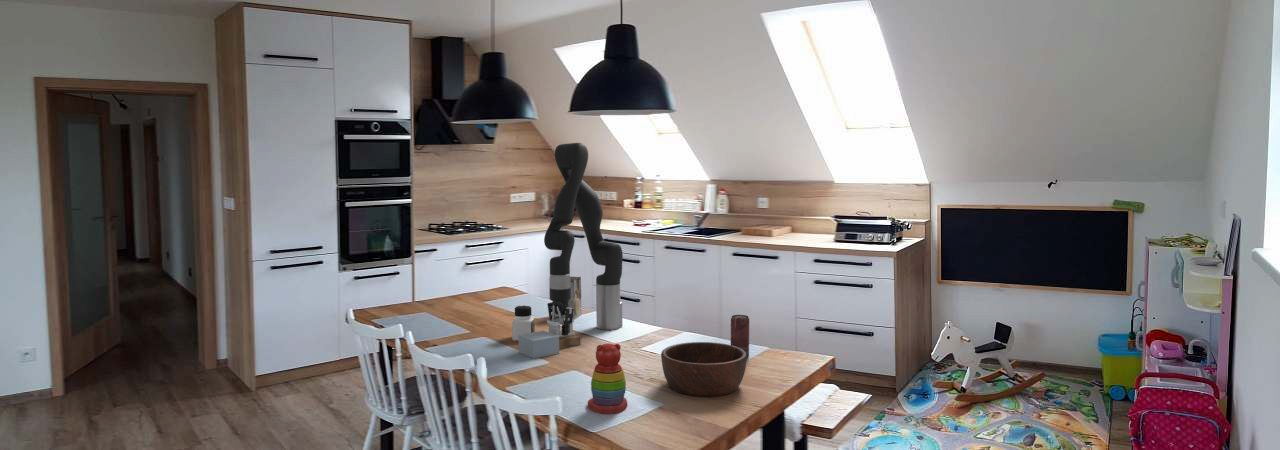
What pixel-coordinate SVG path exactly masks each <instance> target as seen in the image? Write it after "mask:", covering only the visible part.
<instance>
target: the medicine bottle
mask: <svg viewBox="0 0 1280 450" xmlns="http://www.w3.org/2000/svg"><path fill="white" fill-rule="evenodd" d="M535 328H536V327H535V317H533V316H532V307H531V306H530V305H526V304H525V305H523V304H521V305H516V306H515V307H514V319H513V320H512V321H511V338H512V339H511V340H512V341H513V342H514V341H515V342H516V341H518V342H519V339H518V335H522V334H528V333H534V332H536V331H535Z"/></svg>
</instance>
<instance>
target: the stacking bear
mask: <svg viewBox="0 0 1280 450" xmlns="http://www.w3.org/2000/svg"><path fill="white" fill-rule="evenodd" d="M621 356H622V353H621V345H620V344H619V343H615V344H614V343H603V344H597V346H596V350H595V359H596V362H597V364H596V365H595V366H594V369H593V372H592V377H591V381H590V389H591V395H592V397H591V398H590V399H589V400H588V401H587V408H589V410H591V411H592V412H595V413H598V414H602V413H603V414H602V415H612V414H618V413H621V412H623V411H624V410H626V409H627V407H628V400H627V398H626V397H625V393H626V389H627V387H626V385H627V383H626V382H627V381H626V378H625V377H626V376H625V372H624V370H623V367H622V365H621V364H619V363H620V360H621V358H622V357H621Z"/></svg>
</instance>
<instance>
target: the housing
mask: <svg viewBox="0 0 1280 450" xmlns="http://www.w3.org/2000/svg"><path fill="white" fill-rule="evenodd" d="M568 319H570V318H568ZM564 321H565V318H564ZM546 322H547V323H546V324H548V332H549V333H551V334H554V335H557V336H559V338H564V337H570V336H574V335H575V332H574V330H573V329H574V328H573V327H574V326H573V323H575V319H572V323H571V324H569V325H568V335H565V336H563V335H562V330H560V331H559V325H561V326H562V322H561V319H560V318H555V319H546Z"/></svg>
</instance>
